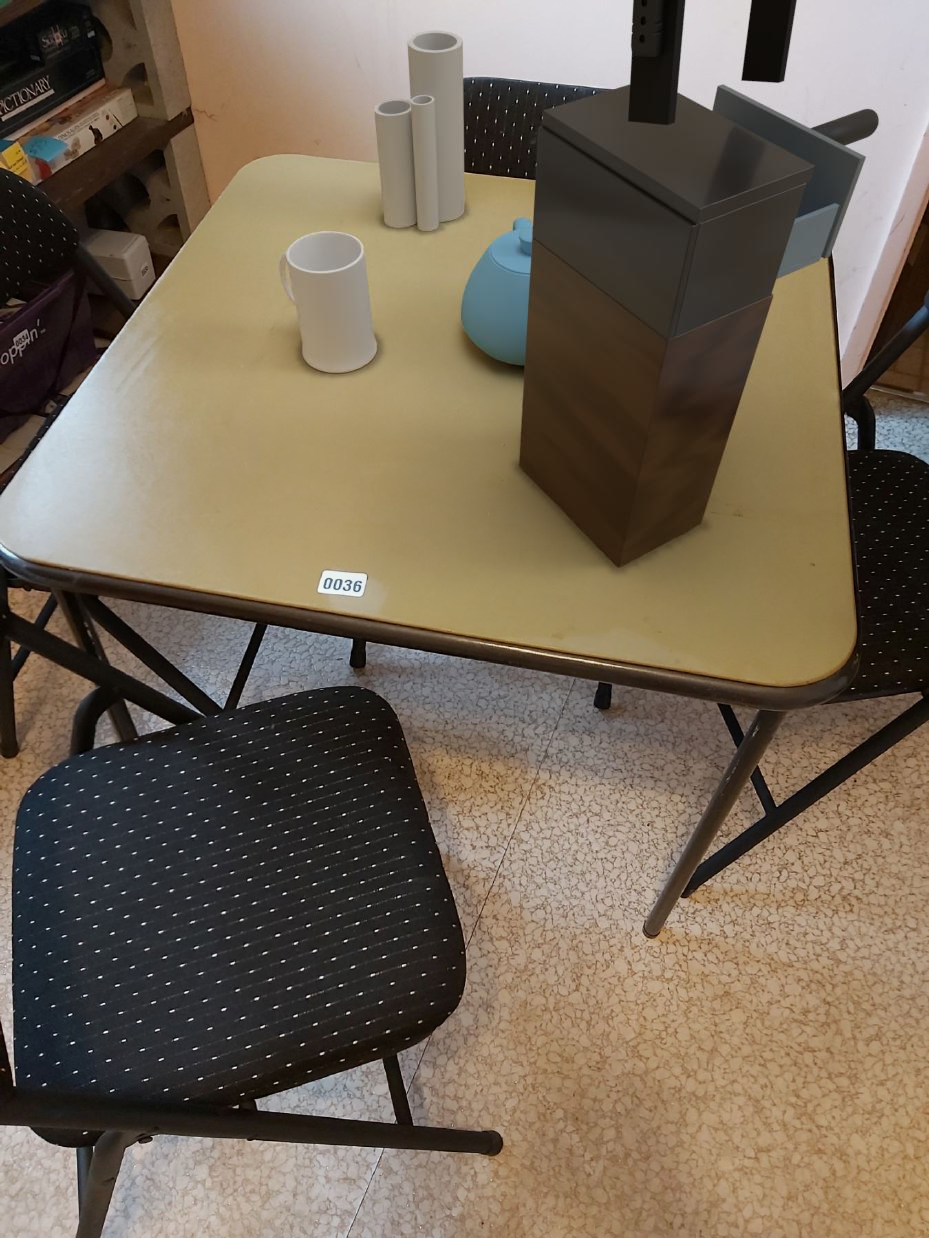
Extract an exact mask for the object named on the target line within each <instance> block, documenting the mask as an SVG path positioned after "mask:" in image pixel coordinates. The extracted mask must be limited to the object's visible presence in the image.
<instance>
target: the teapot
mask: <svg viewBox="0 0 929 1238" xmlns="http://www.w3.org/2000/svg"><path fill="white" fill-rule="evenodd" d="M532 231H533V222H532V221H531V219H530V218H527V217H518V218H516V219H514V220H513V222H512V230H510V231H507V232H505V233H503V234H501V235H499V236H498V237H497V238H495V239H494V240H493V241H492V242H491V243H490V244H489V245H488V247H487V248H486V250H485V251H484V252H483V253H482V255H481V256H480V258H479V259H478V261H477V263H476V264H475V266H474V267H473V269H472V271H471V272H470V274H469V277H468V279H467V281H466V284H465V285H464V287H465V288H464V290H463V295H462V299H461V304H460V321H461V325H462V327H463V330H464V331H465V334H466V336H467V337H468V338H469V339H470V340H471V342H472V343H473V344H475V345H476V346H477V347H478V349H480V350H481V351H483V353H485V354H486V355H488V357H491V358H493V359H495V360H498V361H500V362H503V363H505V364H509V365H515V366H525V353H526V336H527V318H528V301H529V284H530V267H531V250H532Z"/></svg>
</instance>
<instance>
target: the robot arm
mask: <svg viewBox="0 0 929 1238" xmlns="http://www.w3.org/2000/svg"><path fill="white" fill-rule="evenodd" d="M797 2H798V0H751V1H750V9H749V18H748V24H747V33H746V40H745V49H744V57H743V64H742V71H741V79H740V80H741V82H756V83H757V82H758V83H772V84H773V83H774V84H780V83H783V82H785V77H786V72H787V64H788V59H789V53H790V46H791V39H792V33H793V27H794V20H795V16H796V15H795V13H796V7H797ZM685 10H686V0H633V1H632V17H631V24H632V25H631V34H630V35H631V37H630V49H631V60H630V76H629V77H630V79H629V84H630V95H629V113H628V121H630V122H640V123H650V124H661V125H670V124H672V123H675V116H676V104H677V93H679V91H678V90H679V81H680V69H681V68H680V67H681V56H682V47H683V45H682V44H683V35H684V34H683V33H684V21H685Z"/></svg>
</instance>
